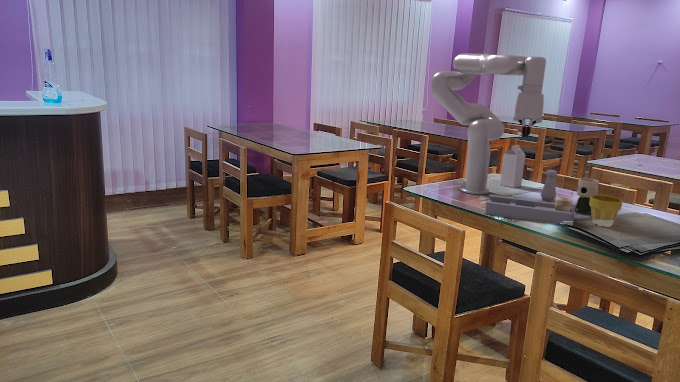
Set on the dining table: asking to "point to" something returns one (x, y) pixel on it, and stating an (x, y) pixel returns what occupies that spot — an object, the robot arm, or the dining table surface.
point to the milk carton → (512, 167)
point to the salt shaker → (549, 186)
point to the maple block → (563, 204)
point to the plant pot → (604, 207)
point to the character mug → (586, 193)
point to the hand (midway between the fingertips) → (525, 136)
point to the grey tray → (527, 210)
